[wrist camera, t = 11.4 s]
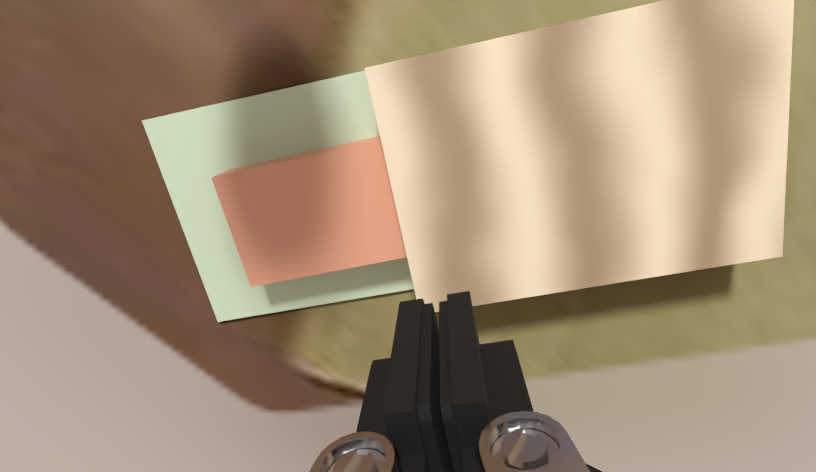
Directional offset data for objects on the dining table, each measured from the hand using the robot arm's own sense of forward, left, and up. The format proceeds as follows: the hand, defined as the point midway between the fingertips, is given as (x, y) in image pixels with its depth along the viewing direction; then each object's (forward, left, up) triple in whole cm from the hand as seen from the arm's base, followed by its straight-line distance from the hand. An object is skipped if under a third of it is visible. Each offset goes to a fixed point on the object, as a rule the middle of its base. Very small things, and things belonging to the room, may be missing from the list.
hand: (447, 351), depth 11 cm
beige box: (-8, 0, -19) cm, 20 cm away
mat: (+10, 0, -19) cm, 22 cm away
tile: (+8, 0, -19) cm, 20 cm away
